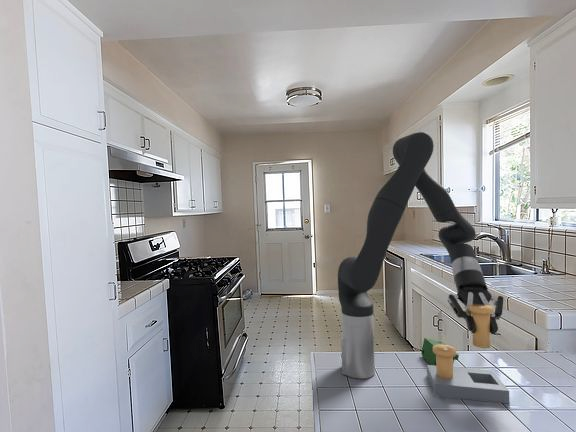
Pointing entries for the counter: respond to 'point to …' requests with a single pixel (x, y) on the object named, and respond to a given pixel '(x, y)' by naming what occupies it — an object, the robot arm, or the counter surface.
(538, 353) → the counter surface
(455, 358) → the clamp
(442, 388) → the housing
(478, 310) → the tan peg
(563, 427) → the counter surface
